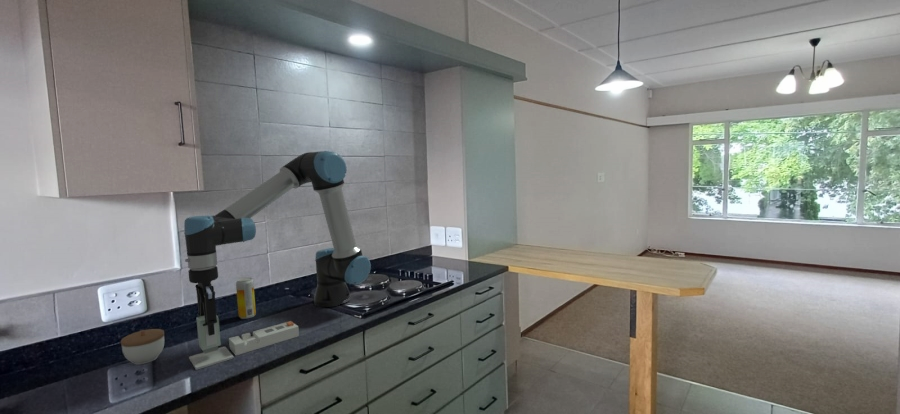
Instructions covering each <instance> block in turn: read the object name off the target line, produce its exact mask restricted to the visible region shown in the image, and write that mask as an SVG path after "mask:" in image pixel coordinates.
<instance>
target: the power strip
mask: <svg viewBox="0 0 900 414" xmlns="http://www.w3.org/2000/svg"><path fill="white" fill-rule="evenodd" d="M299 330H300V329H299V325H297V324H296V323H294V322H293V321H292V320H289V321H285V322H282V323H278V324H274V325H271V326H268V327H263V328H260V329H257V330H253V331H252V336H251V333H250V332H245V333H243V334H241V337H240V336H239V335H236V336H231V337H229V338H228V343H229V344H228V346H229V350H231V351H230V352H232V353H233V354H234V355H235V356H239V355H242V354H246V353H249V352H252V351H255V350H258V349H262V348H265V347H269V346H272V345H274V344H278V343H281V342H285V341H289V340H290V339H294V338H297V337H299V336H300V331H299Z"/></svg>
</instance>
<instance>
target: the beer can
mask: <svg viewBox="0 0 900 414" xmlns="http://www.w3.org/2000/svg"><path fill="white" fill-rule="evenodd" d="M235 286H236V287H235V288H236V300H237V302H236V303H237V310H238V311H237V312H238V317H239V318H240V319H241V320H247V319H251V318H254V317H255V316H256V314H257V311H256V309H257V308H256V299H255V298H256V297H255V285H254V279H253V278H252V277H241V278H238V279H237V280H236V283H235Z"/></svg>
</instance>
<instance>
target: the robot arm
mask: <svg viewBox="0 0 900 414" xmlns="http://www.w3.org/2000/svg"><path fill="white" fill-rule="evenodd" d="M346 164H347V163H346V162H345V159H344V158H343V157H342V155H340V154H339V153H337V152H334V151H331V150H330V151H329V150H321V151H312V152H311V151H310V152H304V153H303V154H300V155H298V156H297V157H295V158H293V159H292V160H290V161H289V162H287V163H286V164H285V165H283V166H281V167H280V168H279V172H278V173H276V174H274V175H273V176H272V177H270V178H269V179H267V180H265V181H264V182H263V183H261V184H260V185H258V186H257V187H256V188H254V189H253V190H251V191H249V192H248V193H246V194H245V195H243V196H242V197H240V198H239V199H238V200H236V201H235V202H233V203H232V204H230V205H228V206H227V207H225V208H224V209H223V210H220V211H219V212H218V213H216V214H215V215H196V216H195V215H193V216H190V217H187V218H185V220H184V223H183V224H184V226H183V227H184V231H183V232H184V237H185V238H184V239H185V248H186V257H187V258H185V259H184V260H185V261H184V262H185V263H187V268H188V269H189V270H188V279H189V281H188V282H190V283H191V284H195V287H194V288H195V291H196V298H197V299H196V300H197V310H198V311H197V312H198V317H200V316H205V324H203V326H205V336H206V346H210V345H213V344H217V337H216V326H215V323H217V317H216V315H217V309H216V292H215V288H214V285H212V282H213V281H215V280H217V279H218V278H219V272H218V271H219V269H218V266H217V265H218V256H217V255H218V254H217V246H223V245H229V244H236V243H242V242H243V243H244V242H248V241H252V240H253V239H254V238H255V237H256V233H257V228H256V227H257V226H256V223H255V221H254V220H253V217H254V216H255V215H257V214H259V213H260V212H261V211H262V210H264V209H265V208H267V207H268V206H269V205H271V204H273V202H276V201H277V200H278V199H279V198H281V197H282V196H283V195H285V194H286V193H288V192H289V191H290V190H292V189H294V190H295V189H298V188H300V187H301V186H303V185H305V184H308V183H311V185H312V189H313V191H314V192H316V193H318V195H319V197H320V202H321V205H322V211H323V213H324V217H325V221H326V224H327V228H328V231H329V234H330V239H331V242H332V246H333V247H329V248H325V249H320V250H318V251H316V253H315V260H314V261H315V270H316V271H315V272H316V284H317V285H316V288H315V293H314V297H313V304H314V305H315V306H317V307H322V308H331V307H333V308H334V307H338V305H339V306H341V305H340V304H341V303H342V302H343V301H344V300H346V299H348V298H349V297H350V298H351V293H350V290H349V287H348V284H349V285H359V284H361V283H364V281H365V280H366V279H368V277H369V275H370V272H371V269H372V267H371V266H372V264H371V261H370V259H369V258H368V257H367V256H365V255H363V251H362V247H361V246H359V245H358V244H356V240H355V236H354V232H353V228H352V224H351V221H350V217H349V212H348V209H347V205H346V201H345V197H344V193H343V189H342V188H343V186H344V185H345V181H344V179H345V177H346V174H347V172H348V171H347V165H346Z"/></svg>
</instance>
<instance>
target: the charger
mask: <svg viewBox="0 0 900 414" xmlns="http://www.w3.org/2000/svg"><path fill="white" fill-rule="evenodd" d="M216 317H217V323H215V326H216V337H217V344H213V345H210V346H206V336H205V326H203V324H205V316H197V317H196V326H197V327H196V328H197V338H198V339H197V340H198V346H199V348H200V349H201V350H202V353H203V352H204V353H209V352H212V351H216V350H218V348H219V346H221V345H222V343H221V333H220V332H221V331H220V319H219V316H218V315H217V314H216Z"/></svg>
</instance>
